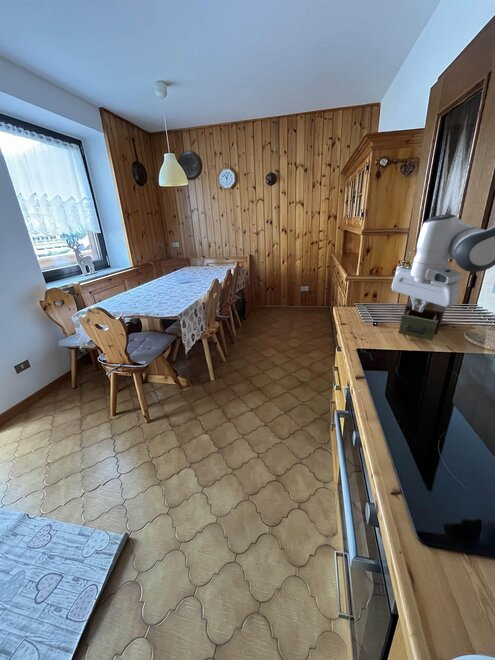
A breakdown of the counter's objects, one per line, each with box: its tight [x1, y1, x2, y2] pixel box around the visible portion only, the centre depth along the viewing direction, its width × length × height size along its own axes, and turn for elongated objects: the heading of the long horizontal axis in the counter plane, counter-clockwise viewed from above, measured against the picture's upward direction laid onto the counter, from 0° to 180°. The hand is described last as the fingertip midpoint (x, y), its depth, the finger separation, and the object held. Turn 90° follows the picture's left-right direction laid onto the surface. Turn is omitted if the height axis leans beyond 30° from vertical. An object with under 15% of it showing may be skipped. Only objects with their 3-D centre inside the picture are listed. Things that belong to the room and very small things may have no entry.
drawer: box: [397, 308, 439, 342], centre depth 110 cm, size 18×12×8 cm, turn 142°
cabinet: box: [403, 298, 447, 336], centre depth 118 cm, size 15×13×10 cm
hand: (417, 310), depth 95 cm, fingers closed
